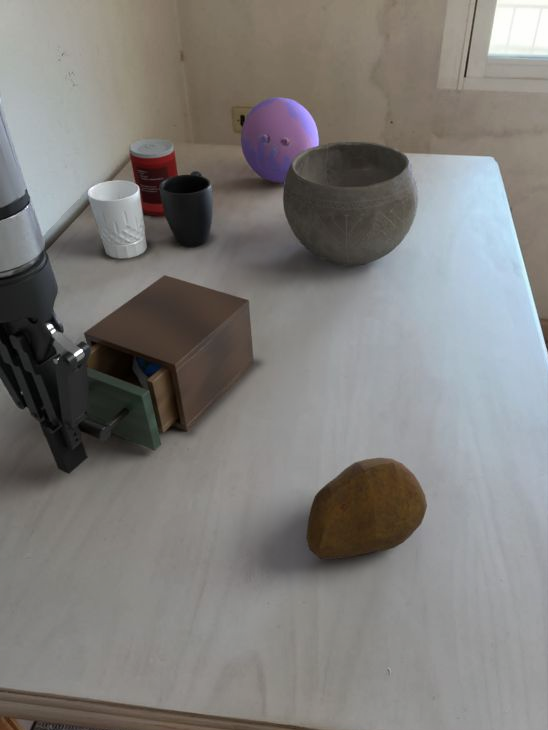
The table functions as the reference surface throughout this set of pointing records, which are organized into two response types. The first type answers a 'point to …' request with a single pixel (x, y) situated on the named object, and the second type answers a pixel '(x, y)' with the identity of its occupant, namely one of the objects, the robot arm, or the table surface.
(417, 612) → the table surface
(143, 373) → the dessert
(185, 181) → the mug
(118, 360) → the drawer
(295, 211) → the bowl
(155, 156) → the canned food
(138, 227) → the white cup
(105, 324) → the cabinet
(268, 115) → the decorative ball
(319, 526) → the potato
